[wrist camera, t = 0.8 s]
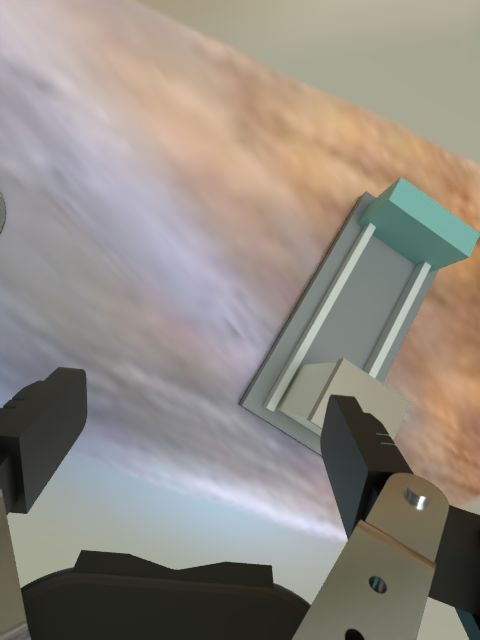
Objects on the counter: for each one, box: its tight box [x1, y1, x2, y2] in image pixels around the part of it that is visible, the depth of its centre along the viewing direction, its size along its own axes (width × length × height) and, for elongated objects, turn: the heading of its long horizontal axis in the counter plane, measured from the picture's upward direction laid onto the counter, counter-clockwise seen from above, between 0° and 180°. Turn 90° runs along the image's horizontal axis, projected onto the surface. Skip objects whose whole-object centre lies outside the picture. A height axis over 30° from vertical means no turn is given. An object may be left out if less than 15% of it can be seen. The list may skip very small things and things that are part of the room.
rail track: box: [239, 177, 480, 456], centre depth 37 cm, size 12×28×8 cm, turn 147°
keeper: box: [276, 358, 410, 440], centre depth 32 cm, size 6×5×10 cm
